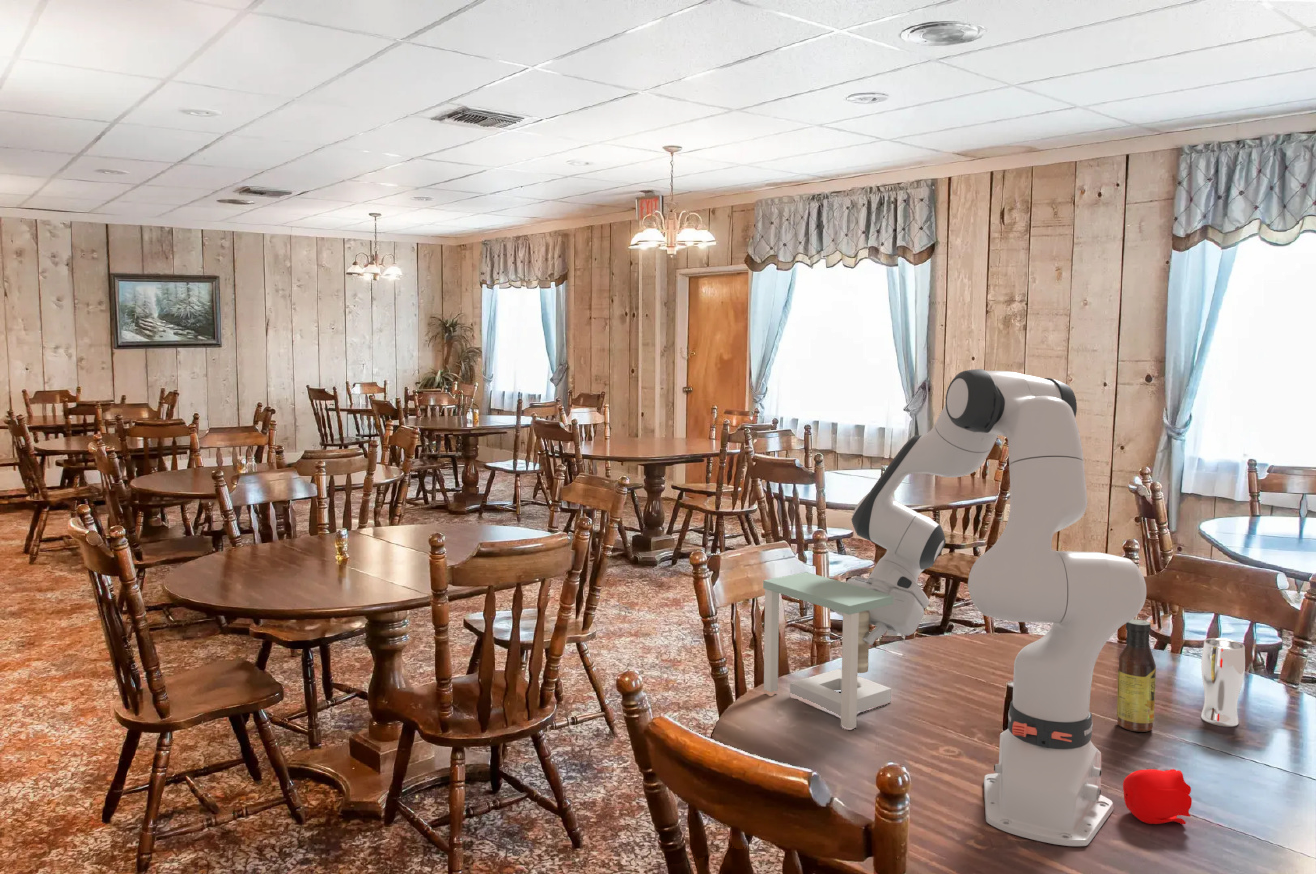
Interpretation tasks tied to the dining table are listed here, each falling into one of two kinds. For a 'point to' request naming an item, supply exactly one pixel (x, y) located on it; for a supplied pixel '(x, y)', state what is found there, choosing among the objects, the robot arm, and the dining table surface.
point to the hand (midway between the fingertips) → (856, 639)
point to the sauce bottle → (1136, 679)
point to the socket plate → (824, 695)
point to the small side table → (829, 596)
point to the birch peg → (862, 646)
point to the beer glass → (1222, 680)
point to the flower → (1157, 795)
